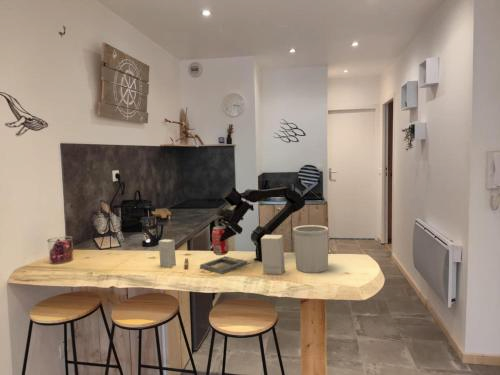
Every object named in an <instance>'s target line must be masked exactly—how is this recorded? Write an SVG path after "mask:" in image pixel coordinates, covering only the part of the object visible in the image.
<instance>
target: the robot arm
mask: <svg viewBox="0 0 500 375" xmlns="http://www.w3.org/2000/svg"><path fill="white" fill-rule="evenodd" d="M275 197H276V198H277V197H284V199H285V200H286V202H285V204H284V207H282V209H281V210H279V211H278V213H276V215H274V217H272V218H271V219H270V220H269V221H268V222H267V223H266V224H265V225H264V226H261V225H257V227H256V228H255V229H254V230H252V231H251V232H252V233H251V234H250V240H251V242H252V243H253V245H254V246H255V258H253V260H254V261H259V262H262V247H261V238H262V237H263V236H264V235H273V233H274V232H275V230H276V229H277V228H279V227H280V225H282V224H283V222H285V221H286V219H288V218H289V217H290V216H291V215H292V214H293V213H296V212H298V211H299V210H301V209H303V208H304V207H305V205H306V199H305V198H304V197H303V196H300V195H299V194H298V193H297V192H295V191H294V190H292V188H290V187H289V186H282V187H276V188H267V189H251V188H250V189H249V188H247V189H245V190H244V192H239V191H238V190H236V188H235V186H234V187H233V186H231V187H230V189H227V190H226V191H225V192H223V194H222V199H223V200H224V201H225V202H226V203H228V204H229V205H230V206H231V207H233V206H234V208H233V209H230V208H229V209H228V208H226V207H225V208H224V209H223V208H220V207H217V210H216V212H215V215H216V216H218V217H216V219H215V220H216V222H217V226H225V231H224V233H223V235H222V236H221V238H220V240H219V241H220V242H222V241H224V240H226V239H228V240H229V239H230V238H232V237H233V236H237V235H241V234H242V233H243V231H244V229H243V227H241V226H240V225H239V224H240V222H241V221H243V220H244V219H245V218H244V216H245V215H246V214H247V212H248V211H249V210H250V211H251V212H253V211H254V209H255V208H254V204H251V203H258V202H261V201H262V200H264V199H265V200H266V199H270V198H275Z"/></svg>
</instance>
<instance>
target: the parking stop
mask: <svg viewBox="0 0 500 375" xmlns="http://www.w3.org/2000/svg"><path fill="white" fill-rule="evenodd" d="M183 264H184V270H188V269H189V258H188V257H187V258H184V263H183Z"/></svg>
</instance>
